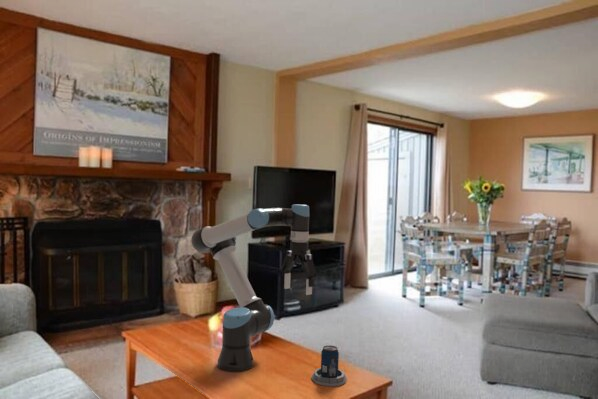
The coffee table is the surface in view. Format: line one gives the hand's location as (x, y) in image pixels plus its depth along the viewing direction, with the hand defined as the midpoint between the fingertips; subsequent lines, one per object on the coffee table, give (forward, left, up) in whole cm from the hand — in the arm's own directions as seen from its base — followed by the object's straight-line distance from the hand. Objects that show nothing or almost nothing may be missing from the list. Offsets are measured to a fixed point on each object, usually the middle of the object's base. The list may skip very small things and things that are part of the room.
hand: (297, 291), depth 201 cm
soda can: (+17, +3, -32) cm, 36 cm away
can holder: (+17, +3, -33) cm, 37 cm away
